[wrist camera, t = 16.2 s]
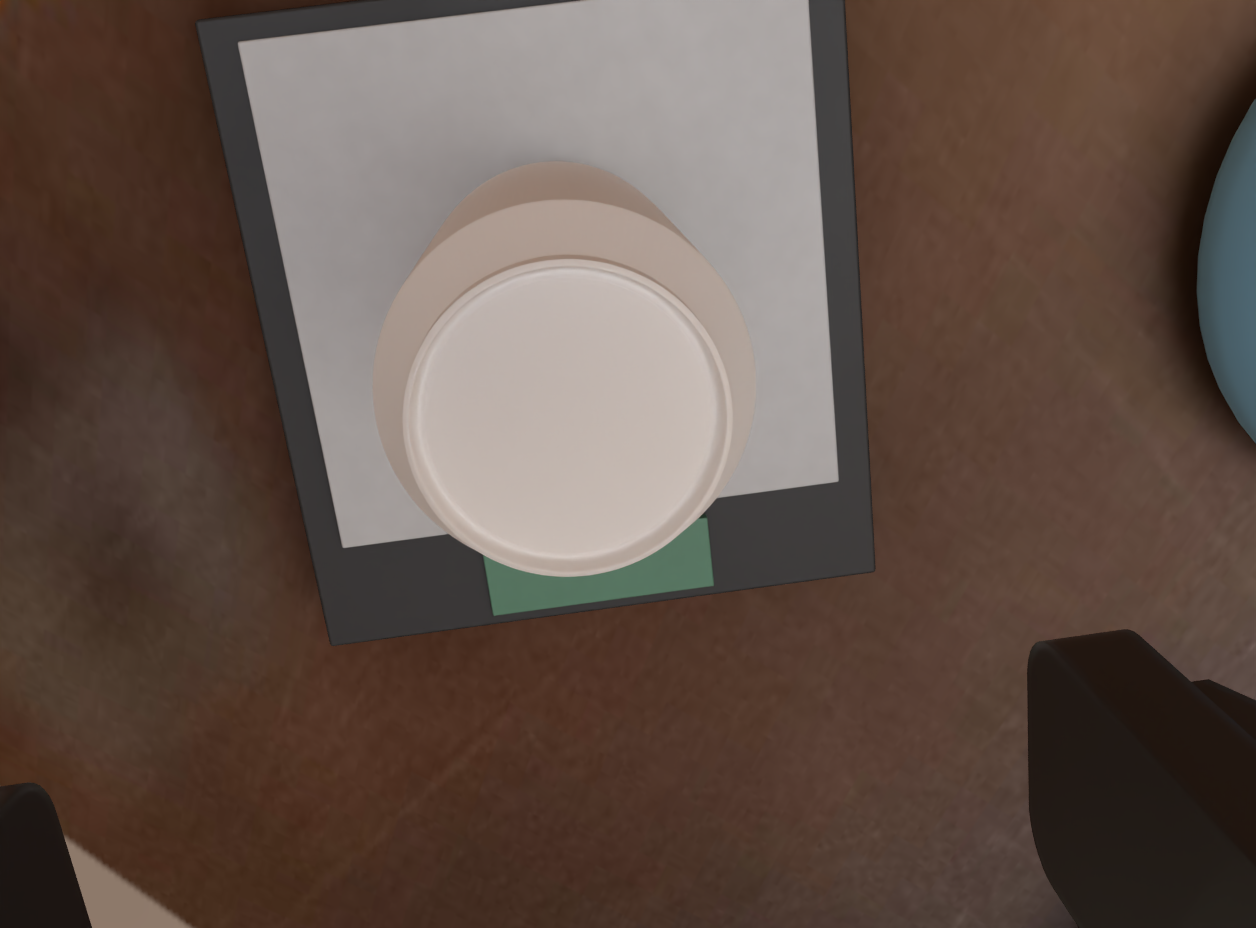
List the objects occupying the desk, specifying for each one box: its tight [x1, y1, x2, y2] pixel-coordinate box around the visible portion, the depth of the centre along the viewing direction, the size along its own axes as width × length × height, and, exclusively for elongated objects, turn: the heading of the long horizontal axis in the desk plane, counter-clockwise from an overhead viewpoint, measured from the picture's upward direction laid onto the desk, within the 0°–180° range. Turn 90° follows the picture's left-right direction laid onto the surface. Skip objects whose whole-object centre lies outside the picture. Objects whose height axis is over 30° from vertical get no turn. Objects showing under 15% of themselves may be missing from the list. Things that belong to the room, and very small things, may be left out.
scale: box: [195, 0, 875, 646], centre depth 31 cm, size 15×16×3 cm
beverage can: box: [373, 161, 756, 577], centre depth 23 cm, size 6×6×12 cm
